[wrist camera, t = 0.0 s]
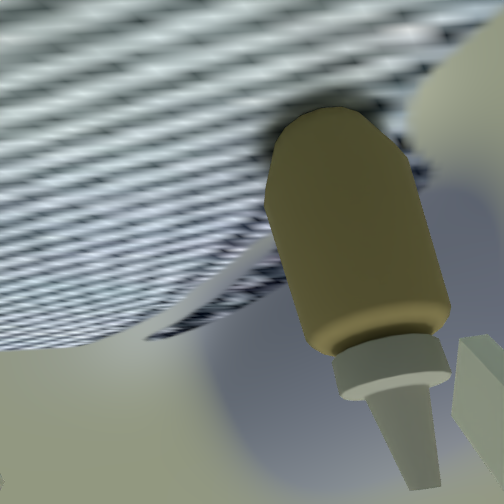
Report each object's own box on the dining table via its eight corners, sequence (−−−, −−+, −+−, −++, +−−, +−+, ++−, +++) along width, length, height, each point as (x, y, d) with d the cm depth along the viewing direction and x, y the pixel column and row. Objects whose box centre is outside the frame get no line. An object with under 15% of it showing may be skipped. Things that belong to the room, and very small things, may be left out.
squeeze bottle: (380, 174, 27) (496, 473, 18) (264, 198, 28) (319, 499, 19) (398, 70, 20) (601, 469, 11) (243, 105, 21) (315, 511, 12)
